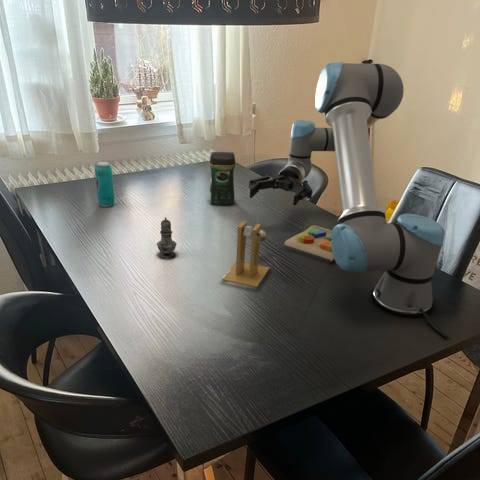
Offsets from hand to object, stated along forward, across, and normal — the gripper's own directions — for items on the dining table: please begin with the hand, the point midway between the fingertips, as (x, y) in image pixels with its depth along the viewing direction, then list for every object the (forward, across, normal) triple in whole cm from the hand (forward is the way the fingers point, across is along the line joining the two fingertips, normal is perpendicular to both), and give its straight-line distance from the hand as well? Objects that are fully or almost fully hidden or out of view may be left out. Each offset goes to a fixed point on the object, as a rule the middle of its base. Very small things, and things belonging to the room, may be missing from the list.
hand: (272, 197), depth 148 cm
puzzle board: (-9, -15, -17) cm, 24 cm away
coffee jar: (-31, +28, -17) cm, 45 cm away
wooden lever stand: (+21, 0, -17) cm, 27 cm away
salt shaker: (+18, +27, -17) cm, 36 cm away
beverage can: (-9, +64, -17) cm, 67 cm away
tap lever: (+16, 0, -7) cm, 18 cm away
